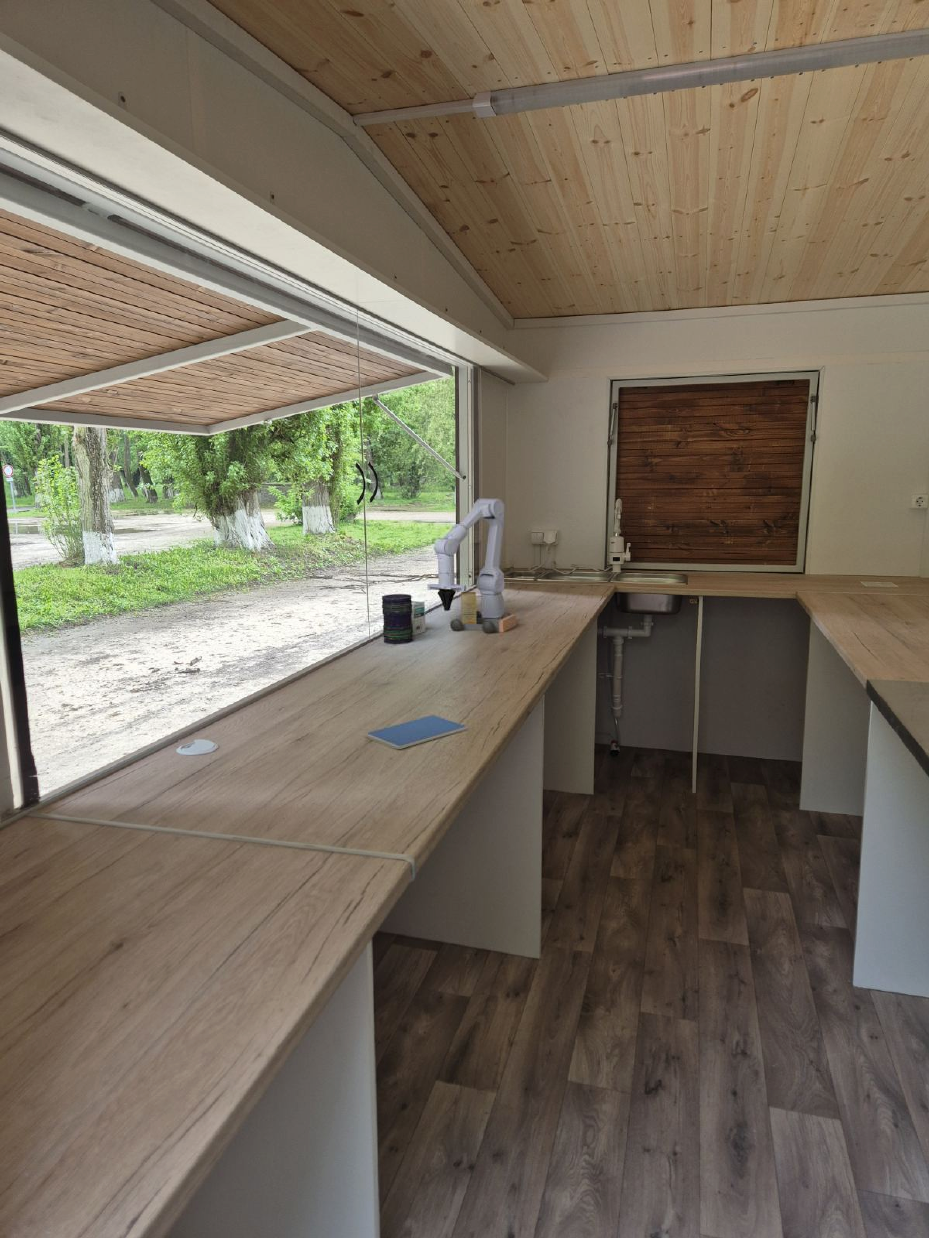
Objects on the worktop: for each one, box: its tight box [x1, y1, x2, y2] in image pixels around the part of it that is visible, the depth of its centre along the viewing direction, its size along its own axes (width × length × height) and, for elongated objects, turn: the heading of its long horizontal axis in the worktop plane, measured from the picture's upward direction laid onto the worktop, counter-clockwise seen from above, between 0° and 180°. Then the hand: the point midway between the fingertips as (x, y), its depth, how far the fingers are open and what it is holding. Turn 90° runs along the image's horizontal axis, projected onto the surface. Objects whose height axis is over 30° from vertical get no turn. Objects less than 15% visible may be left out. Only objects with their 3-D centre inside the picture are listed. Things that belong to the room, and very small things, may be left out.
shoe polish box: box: [460, 591, 477, 624], centre depth 291 cm, size 5×5×12 cm
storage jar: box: [381, 593, 414, 645], centre depth 268 cm, size 10×10×15 cm
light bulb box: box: [411, 600, 427, 636], centre depth 283 cm, size 11×7×11 cm, turn 58°
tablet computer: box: [364, 714, 469, 750], centre depth 177 cm, size 19×13×1 cm, turn 132°
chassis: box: [450, 610, 517, 634], centre depth 289 cm, size 19×19×4 cm
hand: (447, 610), depth 294 cm, fingers closed
